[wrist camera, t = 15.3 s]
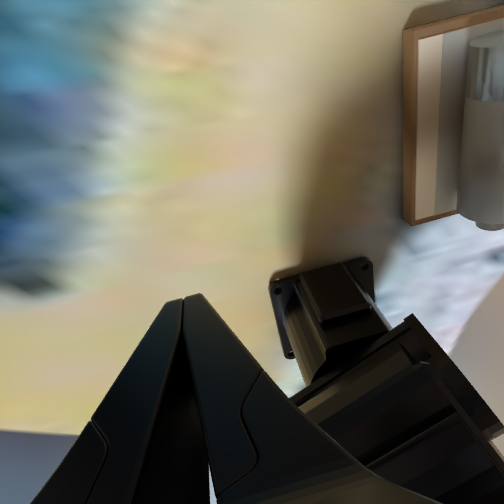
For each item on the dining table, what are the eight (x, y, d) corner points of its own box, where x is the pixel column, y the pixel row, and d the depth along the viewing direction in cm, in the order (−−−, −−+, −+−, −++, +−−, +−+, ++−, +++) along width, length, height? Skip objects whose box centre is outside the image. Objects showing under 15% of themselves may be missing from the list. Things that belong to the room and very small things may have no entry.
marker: (498, 203, 23) (545, 230, 20) (442, 218, 23) (481, 247, 20) (523, 23, 18) (591, 25, 15) (452, 42, 18) (507, 47, 15)
